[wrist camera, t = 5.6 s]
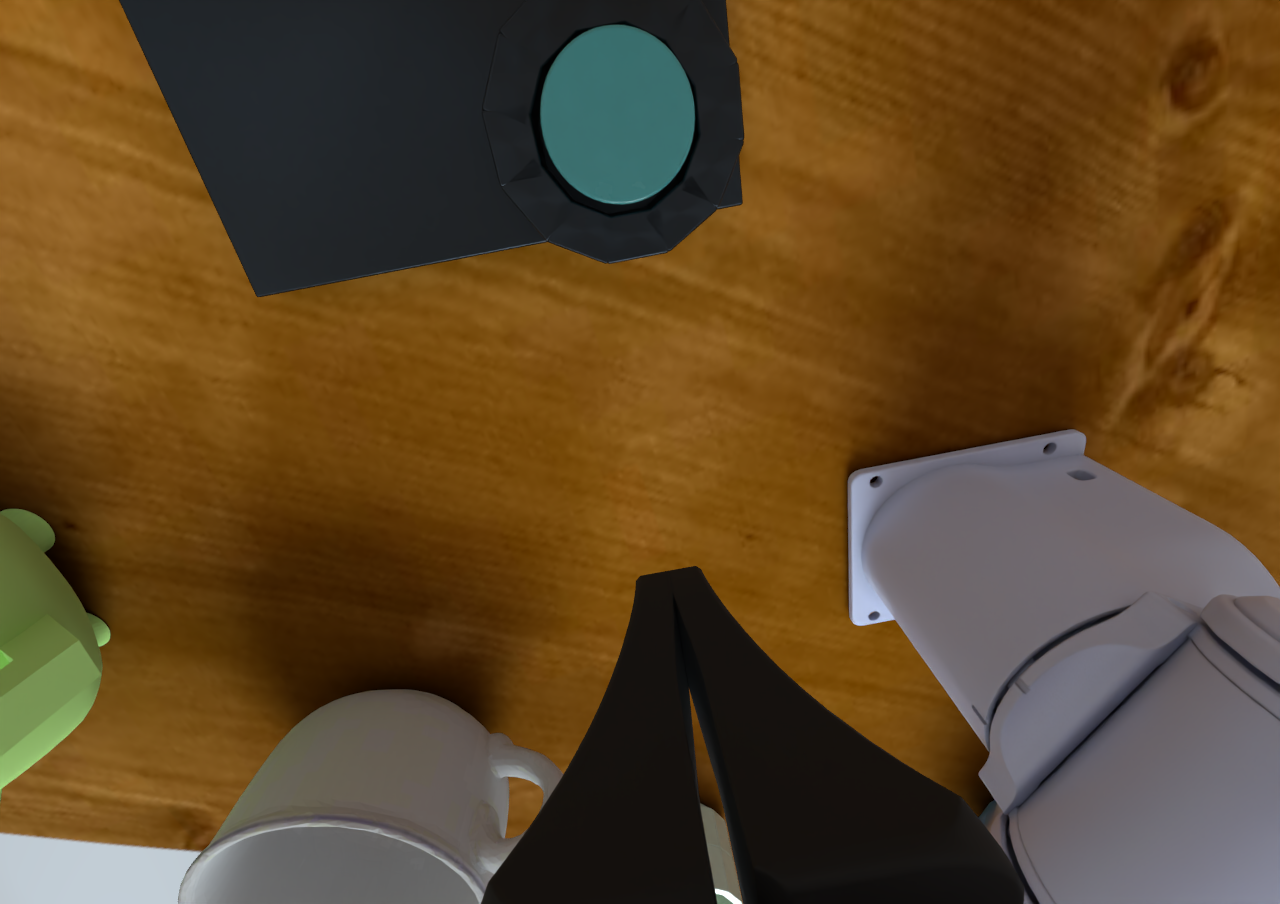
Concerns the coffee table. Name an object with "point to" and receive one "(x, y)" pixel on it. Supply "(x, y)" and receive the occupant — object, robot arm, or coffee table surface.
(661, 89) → the button
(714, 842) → the pale green handleless cup
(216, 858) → the teacup
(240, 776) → the coffee table surface
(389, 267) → the scale
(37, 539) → the teapot
